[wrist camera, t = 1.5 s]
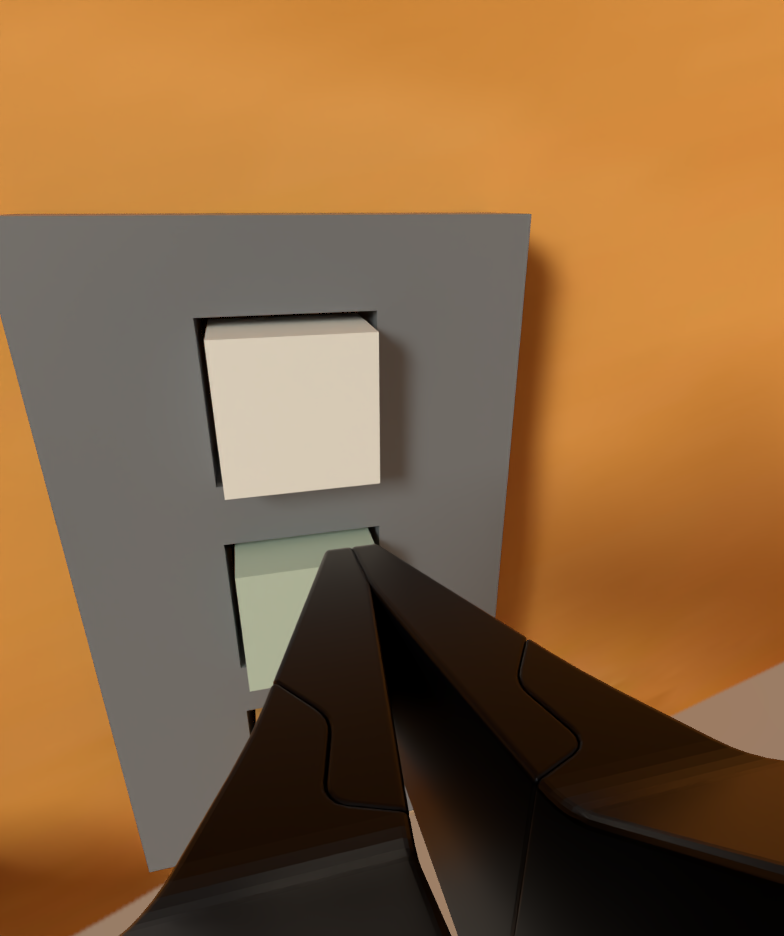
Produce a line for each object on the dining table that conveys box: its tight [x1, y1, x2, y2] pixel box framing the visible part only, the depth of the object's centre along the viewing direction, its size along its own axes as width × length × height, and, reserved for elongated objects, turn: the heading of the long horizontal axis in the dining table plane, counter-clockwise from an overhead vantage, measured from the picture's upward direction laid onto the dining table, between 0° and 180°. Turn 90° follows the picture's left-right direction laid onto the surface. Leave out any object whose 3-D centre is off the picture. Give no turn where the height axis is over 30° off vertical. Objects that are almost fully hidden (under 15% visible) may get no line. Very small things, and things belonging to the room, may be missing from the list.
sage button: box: [235, 527, 374, 692], centre depth 20 cm, size 4×4×3 cm
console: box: [0, 213, 531, 872], centre depth 21 cm, size 14×24×3 cm, turn 0°
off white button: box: [204, 313, 380, 500], centre depth 17 cm, size 4×4×3 cm
